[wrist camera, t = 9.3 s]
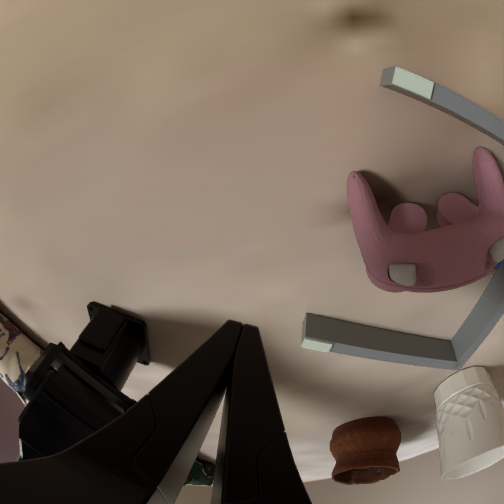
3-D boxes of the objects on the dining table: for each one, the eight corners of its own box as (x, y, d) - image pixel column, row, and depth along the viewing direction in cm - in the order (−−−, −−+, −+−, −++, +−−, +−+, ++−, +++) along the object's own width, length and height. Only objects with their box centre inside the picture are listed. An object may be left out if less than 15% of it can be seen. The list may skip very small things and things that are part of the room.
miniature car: (192, 467, 49) (181, 498, 42) (122, 425, 43) (105, 460, 37) (222, 467, 45) (213, 502, 38) (148, 423, 39) (130, 464, 33)
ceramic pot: (422, 443, 31) (425, 483, 25) (306, 456, 37) (300, 496, 31) (446, 374, 24) (460, 431, 18) (281, 396, 29) (270, 453, 23)
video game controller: (349, 217, 19) (370, 317, 15) (337, 166, 15) (366, 280, 11) (477, 189, 16) (519, 277, 12) (487, 137, 12) (548, 232, 8)
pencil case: (72, 363, 34) (39, 414, 26) (69, 382, 39) (42, 425, 30) (-24, 275, 31) (-62, 311, 23) (-19, 304, 35) (-50, 338, 27)
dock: (452, 350, 21) (459, 372, 19) (302, 322, 22) (300, 347, 20) (550, 163, 12) (572, 175, 9) (383, 69, 12) (396, 65, 10)
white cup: (488, 388, 23) (507, 458, 15) (430, 411, 26) (440, 485, 18) (494, 351, 21) (523, 434, 12) (425, 380, 24) (441, 469, 15)
